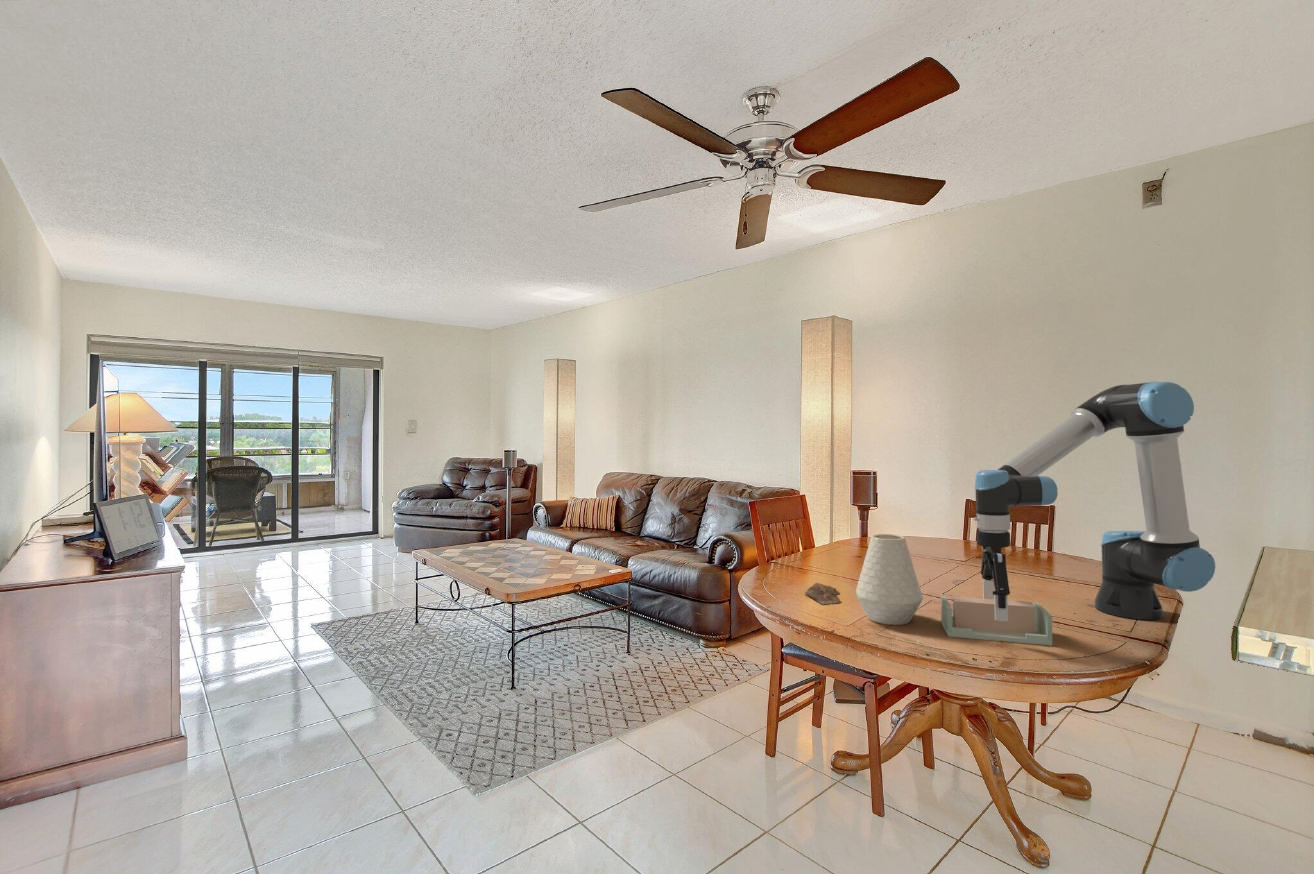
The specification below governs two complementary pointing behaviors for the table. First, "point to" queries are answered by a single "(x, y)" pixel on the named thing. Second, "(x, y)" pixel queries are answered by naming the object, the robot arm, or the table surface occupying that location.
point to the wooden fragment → (823, 594)
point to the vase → (888, 581)
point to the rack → (1041, 636)
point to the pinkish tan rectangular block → (993, 615)
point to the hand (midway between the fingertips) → (995, 612)
